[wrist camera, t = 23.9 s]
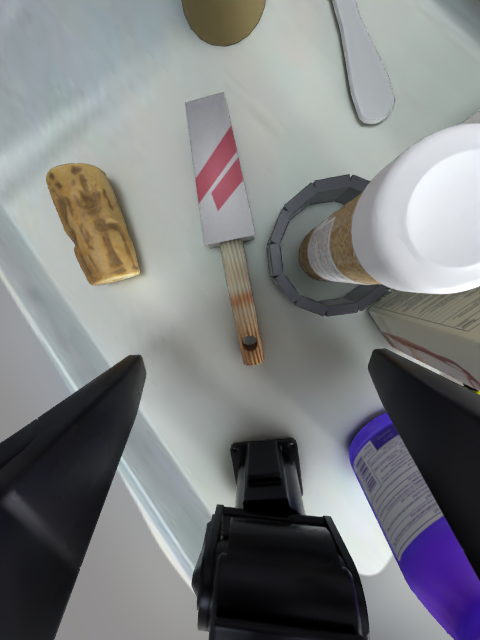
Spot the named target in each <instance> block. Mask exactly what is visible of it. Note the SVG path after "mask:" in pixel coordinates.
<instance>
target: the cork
mask: <svg viewBox="0 0 480 640" xmlns="http://www.w3.org/2000/svg"><path fill="white" fill-rule="evenodd" d="M182 5H183V10H184V15H185V17H186V19H187V21H188V23H189V25H190V27H191V29H192V30H193V31H194V32H195V33H196V34H197V35H198V37H199V38H200V39H202V40H204V41H206V42H208V43H210V44H212V45H219V46H227V45H231V44H234V43H238V42H239V41H241V40H242V39H243V38H245V37H246V36H248V35H249V34H250V33H251V31H252V30H253V29H254V27H255V26H256V25H257V23H258V22H259V20H260V17H261V15H262V12H263V10H264V7H265V0H182Z"/></svg>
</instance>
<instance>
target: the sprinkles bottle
mask: <svg viewBox="0 0 480 640" xmlns="http://www.w3.org/2000/svg"><path fill="white" fill-rule="evenodd" d="M299 255H300V256H299V259H300V263H301V266H302V268H303V270H304V271H305V272H306V273H307V274H308V275H309V276H310V277H312V278H314V279H316V280H320V281H336V282H346V283H355V284H364V285H371V284H383V285H385V286H387V287H389V288H392V289H395V290H400V291H406V292H416V293H429V294H450V293H457V292H463V291H467V290H470V289H473V288H476V287H479V286H480V123H472V124H461V125H456V126H451V127H448V128H445V129H442V130H440V131H437V132H435V133H432V134H430V135H429V136H427V137H425V138H423V139H421V140H420V141H418V142H417V143H415V144H414V145H412V146H411V147H410V148H408V149H407V150H406V151H405V152H403V153H402V154H401V155H400V156H398V157H397V158H396V159H395V160H393V161H392V162H391V163H390V164H389V165H387V166H386V167H385V168H384V169H383V170H382V171H380V172H379V173H378V174H377V175H376V176H375V177H374V178H373V180H372V181H371V182H370V183H369V184H368V185H367V187H366V188H365V190H364V191H363V192H362V193H361V194H359V195H358V196H357V197H356V198H354V199H353V200H351V201H350V202H348V203H347V204H346V205H345V206H344V207H342V208H341V209H339V210H337V211H336V212H334V213H333V214H332V215H331V216H330V217H328V218H327V219H326V220H325V221H323V222H322V223H321V224H320V225H319V226H318V227H316V228H314V229H313V230H311V231H310V232H309V233H308V234H307V235H306V237H305V238H304V240H303V242H302V244H301V247H300V250H299Z"/></svg>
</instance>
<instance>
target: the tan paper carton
mask: <svg viewBox="0 0 480 640" xmlns="http://www.w3.org/2000/svg"><path fill="white" fill-rule="evenodd" d="M368 311H369V313H370V315H371V316H372V318H373V319H374V321H375V323H376V324H377V326H378V327H379V329H380V330H381V332H382V333H383V335H384V336H385V338H386V339H387V340H388V342H389V343H390V345H391V346H392V347H393V348H395V349H397V350H399V351H401V352H403V353H405V354H407V355H409V356H411V357H413V358H415V359H417V360H419V361H421V362H423V363H425V364H427V365H429V366H431V367H433V368H435V369H437V370H439V371H441V372H443V373H445V374H447V375H449V376H451V377H453V378H455V379H457V380H458V381H460V382H462V383H464V384H466V385H468V386H470V387H472V388H474V389H477V390H479V391H480V286H479V287H476V288H473V289H470V290H467V291H463V292H457V293H450V294H429V293H416V292H406V291H400V290H394V291H393V292H391V293H390V294H388V295H387V296H385V297H384V298H383V299H381V300H380V301H378V302H377V303H376V304H374V305H373V306H371V307H370V308H369V309H368Z"/></svg>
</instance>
